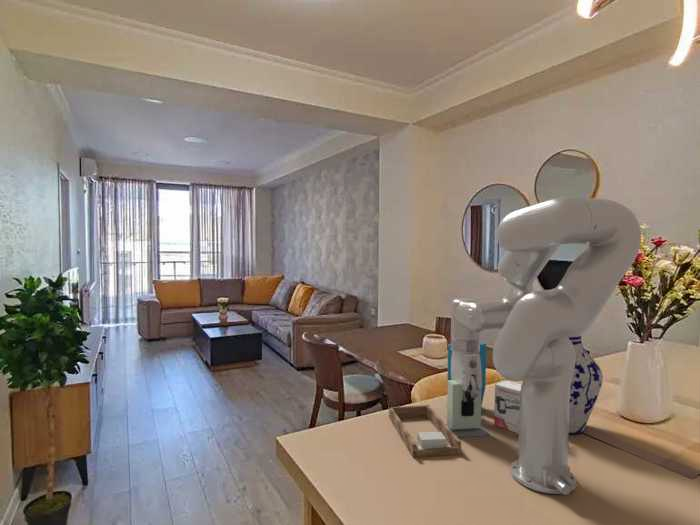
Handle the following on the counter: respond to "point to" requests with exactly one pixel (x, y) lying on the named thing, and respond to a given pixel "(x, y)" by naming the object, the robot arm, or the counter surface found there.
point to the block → (483, 366)
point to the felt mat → (469, 432)
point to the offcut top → (431, 439)
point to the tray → (435, 420)
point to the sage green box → (455, 405)
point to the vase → (583, 388)
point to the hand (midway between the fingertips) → (464, 411)
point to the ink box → (507, 405)
